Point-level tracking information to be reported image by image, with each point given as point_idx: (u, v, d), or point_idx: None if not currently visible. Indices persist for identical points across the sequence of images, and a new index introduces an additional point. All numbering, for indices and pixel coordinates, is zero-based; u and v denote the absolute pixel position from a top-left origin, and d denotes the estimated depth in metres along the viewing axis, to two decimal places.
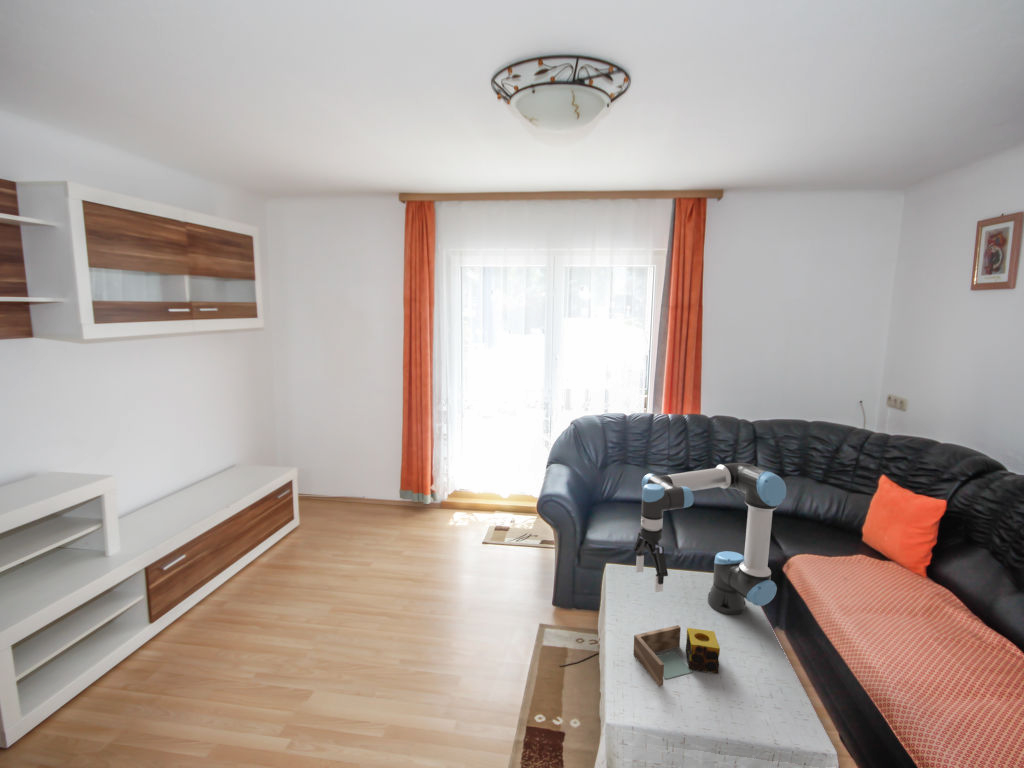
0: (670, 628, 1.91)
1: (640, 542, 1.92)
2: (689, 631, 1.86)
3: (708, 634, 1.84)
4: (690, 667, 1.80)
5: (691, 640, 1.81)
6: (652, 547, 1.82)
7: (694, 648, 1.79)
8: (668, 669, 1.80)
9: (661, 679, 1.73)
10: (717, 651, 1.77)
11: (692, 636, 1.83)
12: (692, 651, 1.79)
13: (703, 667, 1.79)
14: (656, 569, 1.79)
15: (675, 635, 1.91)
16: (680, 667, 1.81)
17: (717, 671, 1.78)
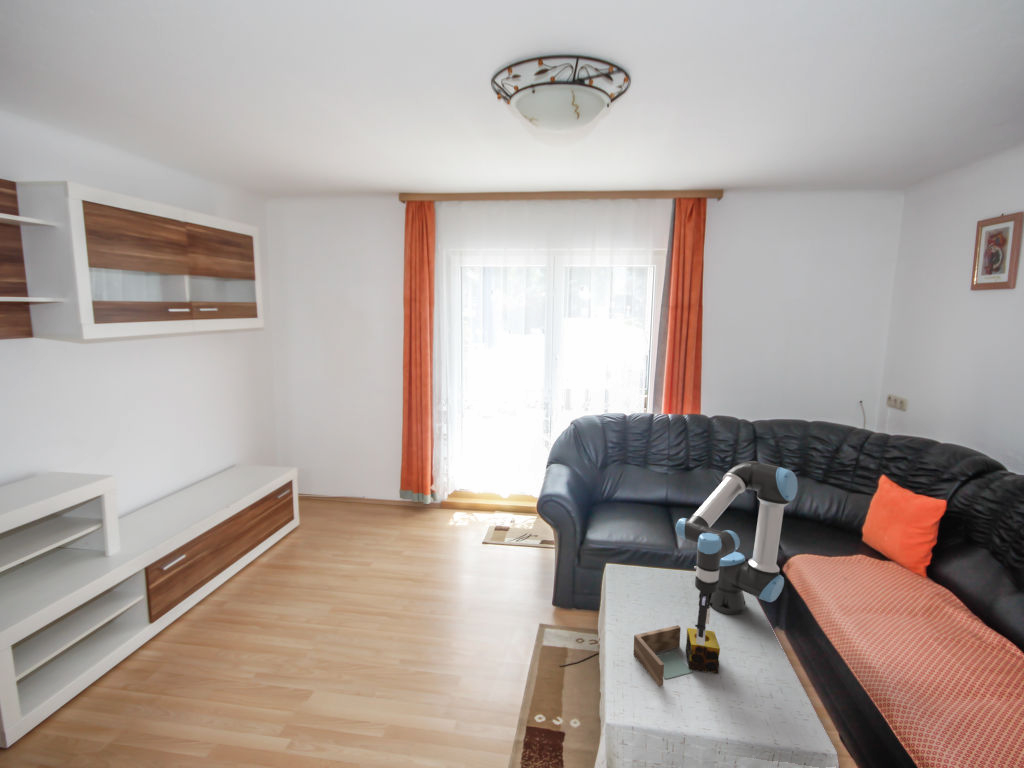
0: (670, 628, 1.91)
1: None
2: (689, 631, 1.86)
3: (708, 634, 1.84)
4: (690, 667, 1.80)
5: (691, 640, 1.81)
6: (701, 597, 1.77)
7: (694, 648, 1.79)
8: (668, 669, 1.80)
9: (661, 679, 1.73)
10: (717, 651, 1.77)
11: (692, 636, 1.83)
12: (692, 651, 1.79)
13: (703, 667, 1.79)
14: None
15: (675, 635, 1.91)
16: (680, 667, 1.81)
17: (717, 671, 1.78)
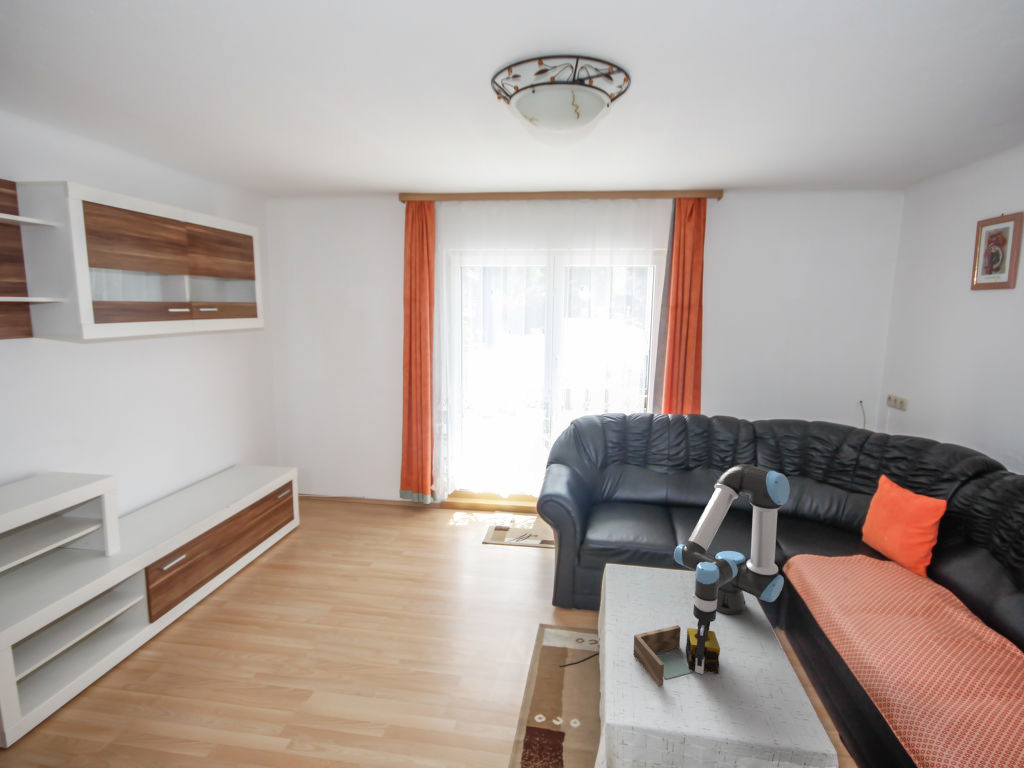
0: (670, 628, 1.91)
1: None
2: (689, 631, 1.86)
3: (709, 634, 1.84)
4: (690, 667, 1.80)
5: (691, 640, 1.81)
6: (699, 626, 1.79)
7: (694, 649, 1.79)
8: (668, 669, 1.80)
9: (661, 679, 1.73)
10: (717, 651, 1.77)
11: (692, 636, 1.83)
12: (692, 651, 1.79)
13: None
14: None
15: (675, 635, 1.91)
16: (680, 667, 1.81)
17: (717, 671, 1.78)
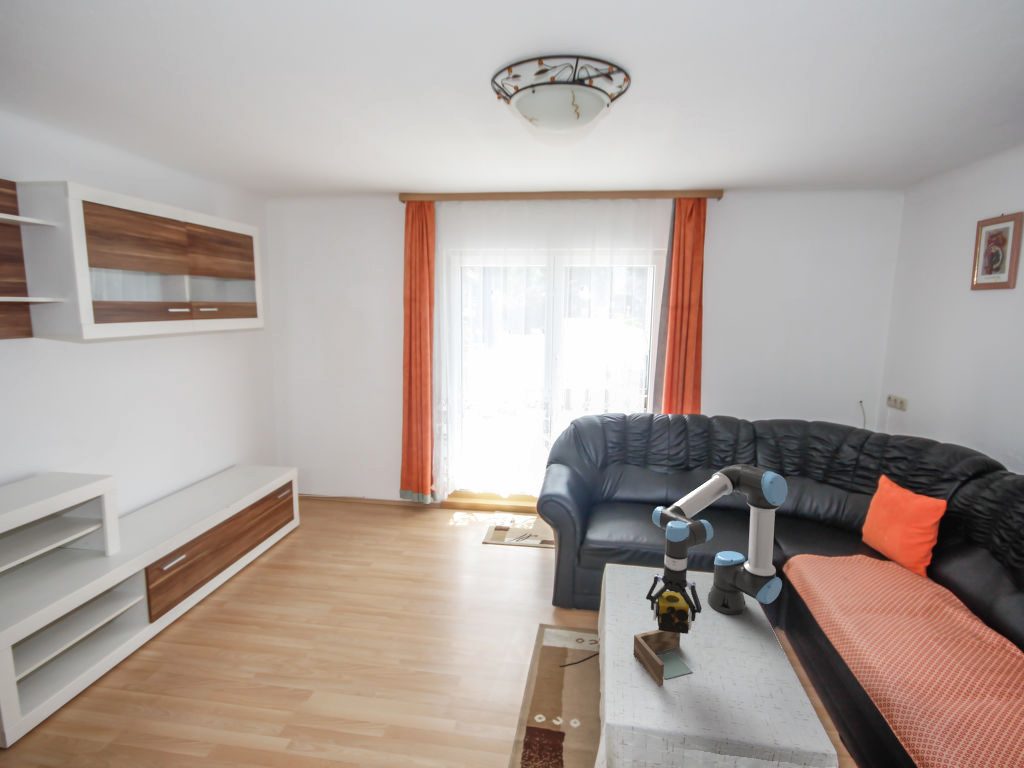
0: None
1: None
2: (666, 604, 1.75)
3: (665, 594, 1.81)
4: None
5: (682, 606, 1.74)
6: (683, 586, 1.75)
7: None
8: (668, 669, 1.80)
9: (661, 679, 1.73)
10: None
11: (674, 604, 1.75)
12: None
13: None
14: (690, 607, 1.75)
15: (675, 635, 1.91)
16: (680, 667, 1.81)
17: None
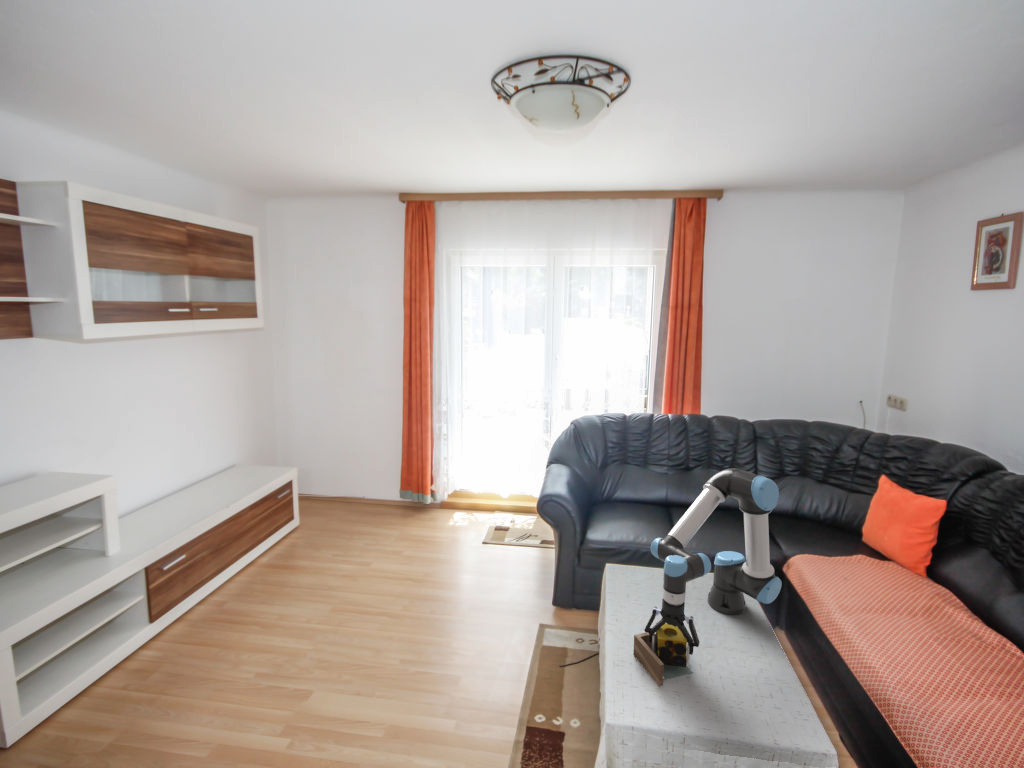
0: None
1: (653, 620, 1.83)
2: (664, 638, 1.77)
3: (663, 627, 1.83)
4: None
5: (680, 640, 1.76)
6: (681, 620, 1.77)
7: None
8: (668, 669, 1.80)
9: (661, 679, 1.73)
10: None
11: (672, 638, 1.77)
12: None
13: None
14: (688, 641, 1.77)
15: None
16: (680, 667, 1.81)
17: None
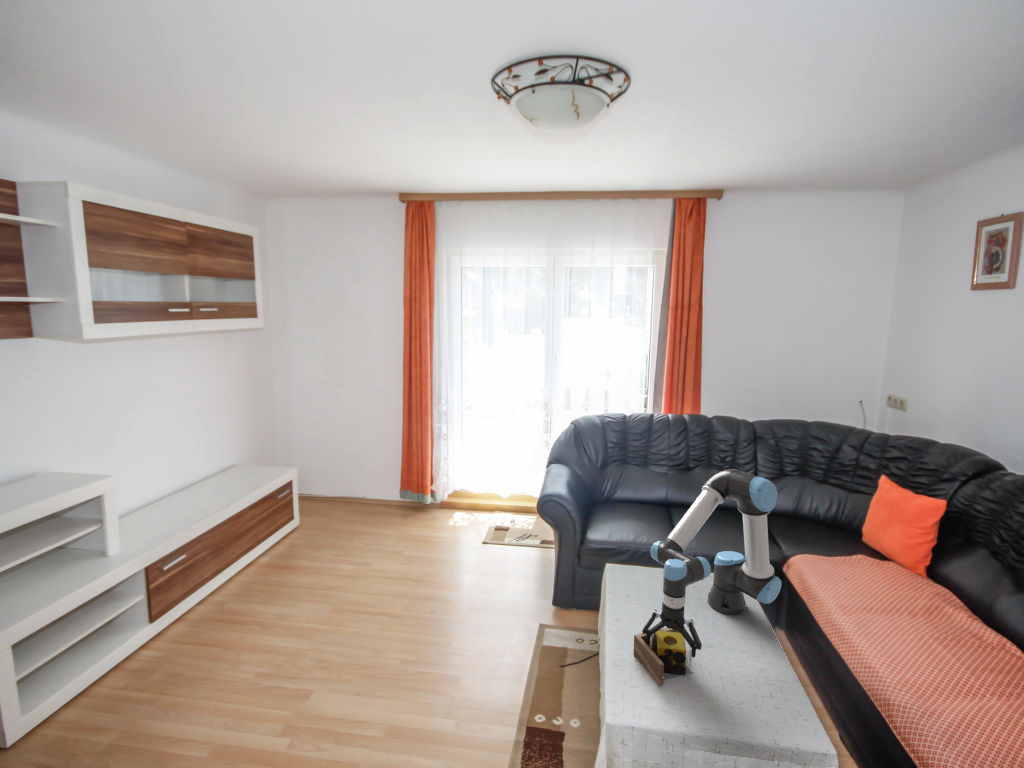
0: None
1: None
2: (664, 646, 1.77)
3: (663, 634, 1.84)
4: None
5: (679, 649, 1.76)
6: (681, 624, 1.77)
7: None
8: None
9: (661, 679, 1.73)
10: None
11: (672, 646, 1.77)
12: None
13: None
14: (690, 644, 1.77)
15: None
16: None
17: None
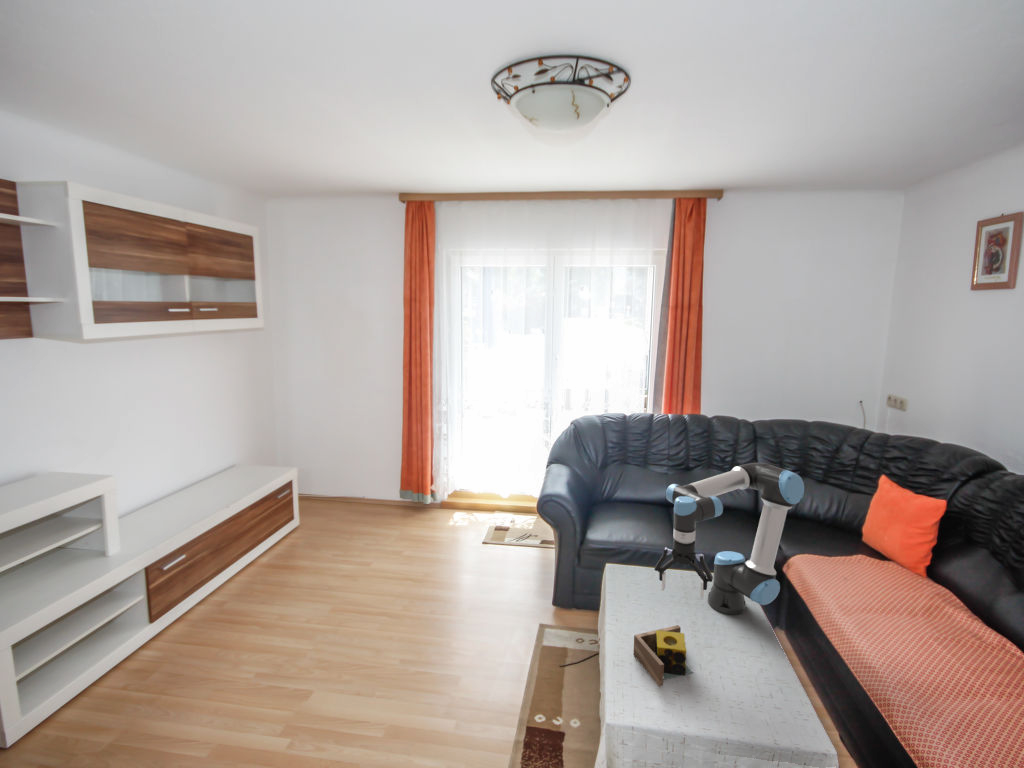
0: (670, 628, 1.91)
1: None
2: (663, 646, 1.77)
3: (663, 634, 1.84)
4: None
5: (679, 649, 1.76)
6: (692, 558, 1.83)
7: None
8: None
9: (661, 679, 1.73)
10: None
11: (672, 646, 1.77)
12: None
13: None
14: (701, 577, 1.83)
15: None
16: None
17: None
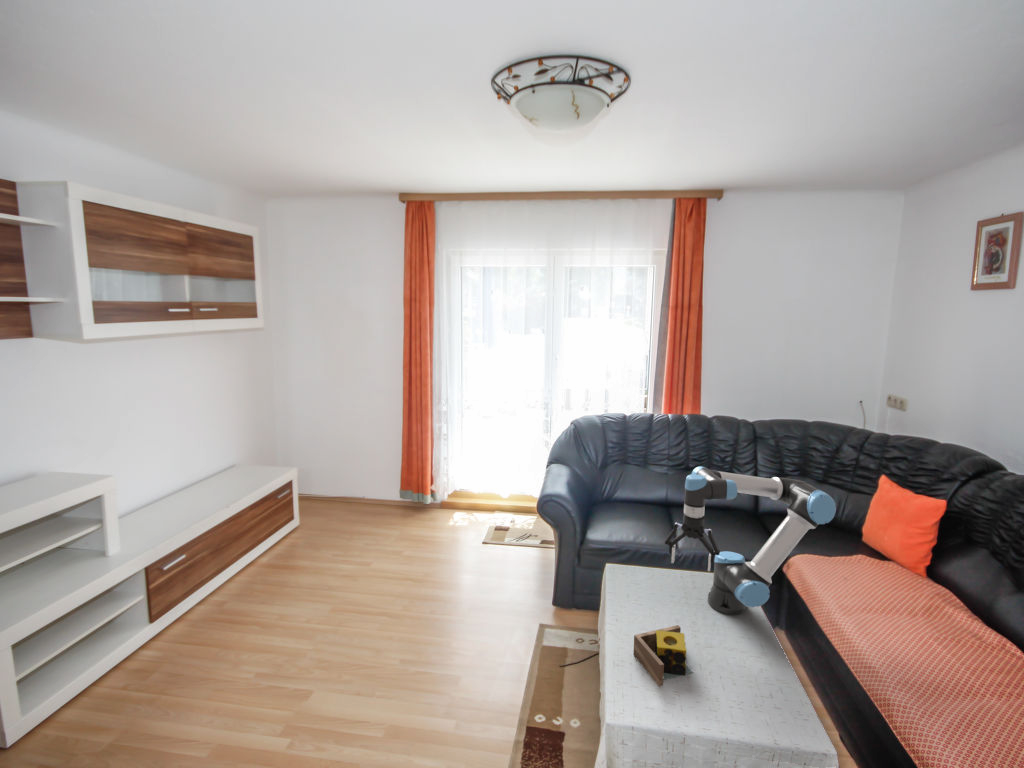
0: (670, 628, 1.91)
1: (674, 533, 2.01)
2: (663, 646, 1.77)
3: (663, 634, 1.84)
4: None
5: (679, 649, 1.76)
6: (701, 532, 1.95)
7: None
8: None
9: (661, 679, 1.73)
10: None
11: (672, 646, 1.77)
12: None
13: None
14: (709, 550, 1.94)
15: None
16: None
17: None
